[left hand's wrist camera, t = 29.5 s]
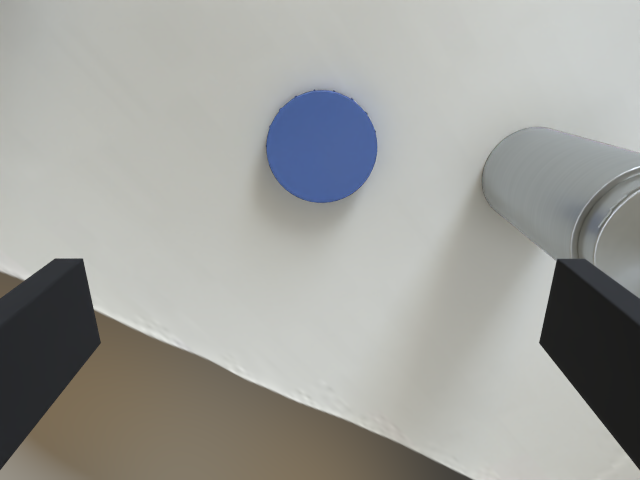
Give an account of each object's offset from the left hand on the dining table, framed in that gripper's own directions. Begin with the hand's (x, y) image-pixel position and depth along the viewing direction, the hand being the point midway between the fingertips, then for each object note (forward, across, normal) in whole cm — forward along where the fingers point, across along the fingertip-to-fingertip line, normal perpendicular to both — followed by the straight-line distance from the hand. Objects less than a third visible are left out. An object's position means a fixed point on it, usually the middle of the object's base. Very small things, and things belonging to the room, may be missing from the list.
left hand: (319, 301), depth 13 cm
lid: (+26, 0, 0) cm, 26 cm away
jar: (+27, +18, -3) cm, 33 cm away
